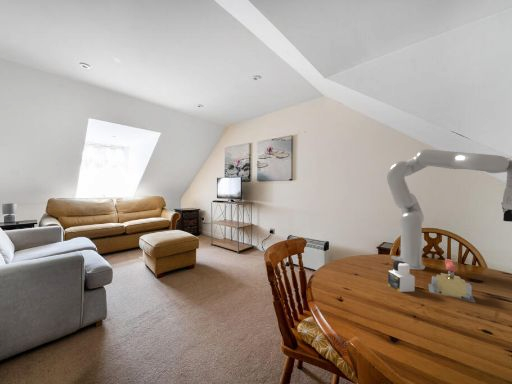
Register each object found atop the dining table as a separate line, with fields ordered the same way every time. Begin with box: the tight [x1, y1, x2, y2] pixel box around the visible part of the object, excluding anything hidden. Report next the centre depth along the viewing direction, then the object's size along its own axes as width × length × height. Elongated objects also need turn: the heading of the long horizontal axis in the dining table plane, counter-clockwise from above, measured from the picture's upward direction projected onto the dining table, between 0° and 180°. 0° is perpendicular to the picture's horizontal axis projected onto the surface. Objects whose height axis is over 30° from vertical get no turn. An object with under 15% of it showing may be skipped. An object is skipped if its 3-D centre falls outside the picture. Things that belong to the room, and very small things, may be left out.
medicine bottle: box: [387, 260, 416, 293], centre depth 94 cm, size 7×7×12 cm
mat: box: [428, 283, 476, 303], centre depth 90 cm, size 14×9×1 cm, turn 53°
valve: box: [431, 270, 473, 300], centre depth 89 cm, size 12×6×10 cm, turn 53°
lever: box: [444, 258, 457, 273], centre depth 91 cm, size 3×10×2 cm, turn 143°
